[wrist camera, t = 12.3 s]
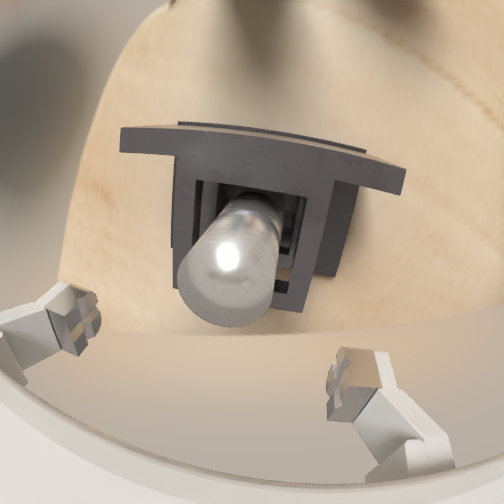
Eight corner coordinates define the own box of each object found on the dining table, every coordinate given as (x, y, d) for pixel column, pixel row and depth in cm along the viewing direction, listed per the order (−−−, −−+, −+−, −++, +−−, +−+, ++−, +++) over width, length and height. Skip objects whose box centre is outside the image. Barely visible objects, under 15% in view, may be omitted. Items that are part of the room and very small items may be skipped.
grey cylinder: (289, 181, 23) (283, 252, 10) (281, 227, 25) (265, 336, 12) (240, 173, 23) (175, 232, 11) (234, 219, 25) (175, 317, 12)
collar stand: (362, 148, 22) (407, 164, 13) (333, 269, 27) (348, 341, 18) (184, 121, 23) (121, 122, 14) (176, 241, 28) (125, 297, 19)
